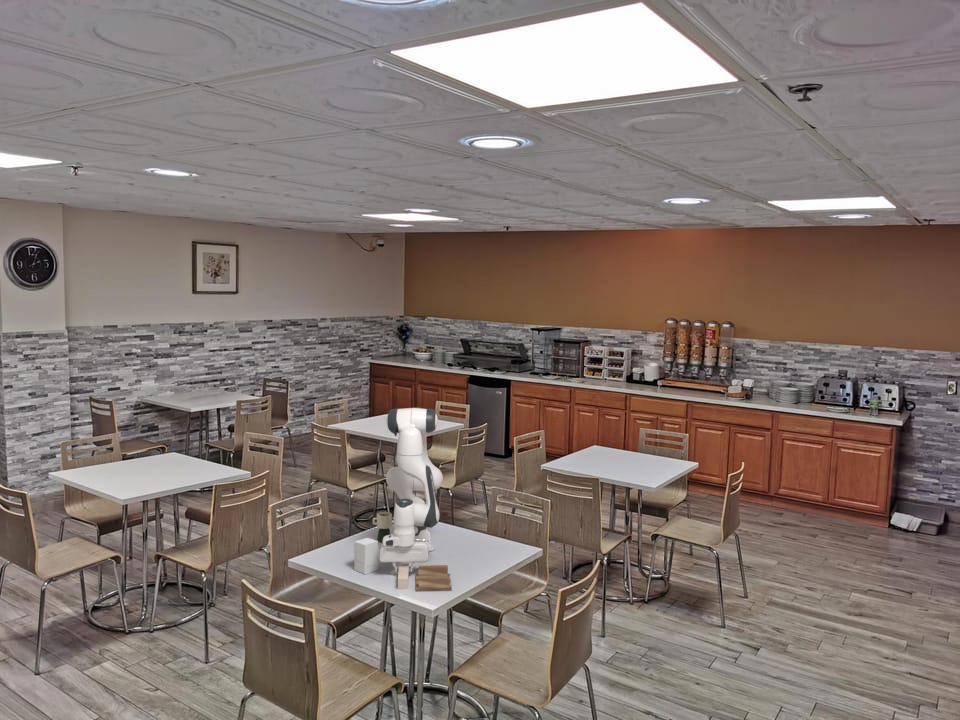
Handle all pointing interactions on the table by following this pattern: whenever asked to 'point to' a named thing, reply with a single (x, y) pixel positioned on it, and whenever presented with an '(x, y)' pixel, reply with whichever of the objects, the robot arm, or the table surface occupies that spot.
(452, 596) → the table surface
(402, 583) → the beige rectangular bar
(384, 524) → the character mug
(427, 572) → the ridged wooden base
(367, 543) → the supplement box
